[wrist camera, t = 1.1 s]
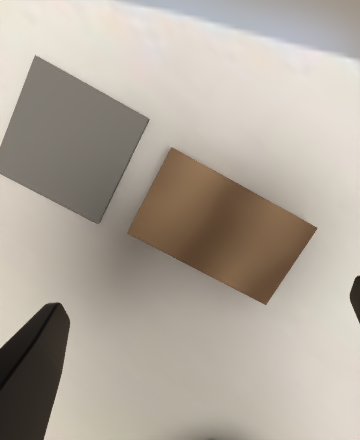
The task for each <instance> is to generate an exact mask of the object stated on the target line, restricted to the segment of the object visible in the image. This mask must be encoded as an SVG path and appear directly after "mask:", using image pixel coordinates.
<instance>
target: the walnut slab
mask: <svg viewBox="0 0 360 440" xmlns="http://www.w3.org/2000/svg"><path fill="white" fill-rule="evenodd" d="M316 230H317V228H316V227H315V226H313V225H311V224H309V223H307V222H306V221H304V220H302V219H300V218H298V217H297V216H295V215H293V214H291V213H289V212H288V211H286V210H284V209H282V208H280V207H279V206H277V205H275V204H273V203H271V202H269V201H268V200H266V199H264V198H262V197H260V196H259V195H257V194H255V193H253V192H251V191H250V190H248V189H246V188H244V187H242V186H241V185H239V184H237V183H235V182H233V181H232V180H230V179H228V178H226V177H224V176H223V175H221V174H219V173H217V172H215V171H213V170H212V169H210V168H208V167H206V166H204V165H203V164H201V163H199V162H197V161H195V160H194V159H192V158H190V157H188V156H186V155H185V154H183V153H181V152H179V151H177V150H176V149H174V148H172V147H171V149H170V151H169V153H168V155H167V157H166V159H165V161H164V163H163V165H162V167H161V169H160V171H159V172H158V174H157V176H156V178H155V180H154V182H153V184H152V186H151V188H150V190H149V192H148V194H147V196H146V198H145V200H144V202H143V204H142V206H141V207H140V209H139V211H138V213H137V215H136V217H135V219H134V221H133V223H132V225H131V227H130V229H129V231H128V234H130V235H131V236H133V237H135V238H137V239H139V240H141V241H143V242H145V243H147V244H149V245H151V246H153V247H155V248H157V249H159V250H161V251H162V252H164V253H166V254H168V255H170V256H172V257H174V258H176V259H178V260H180V261H182V262H184V263H186V264H188V265H190V266H191V267H193V268H195V269H197V270H199V271H201V272H203V273H205V274H207V275H209V276H211V277H213V278H215V279H217V280H219V281H220V282H222V283H224V284H226V285H228V286H230V287H232V288H234V289H236V290H238V291H240V292H242V293H244V294H246V295H248V296H249V297H251V298H253V299H255V300H257V301H259V302H261V303H263V304H265V305H266V304H267V303H268V301H269V300H270V298H271V297H272V295H273V294H274V292H275V291H276V289H277V288H278V286H279V285H280V283H281V282H282V280H283V279H284V277H285V276H286V274H287V273H288V271H289V270H290V268H291V267H292V265H293V264H294V262H295V261H296V259H297V258H298V257H299V255H300V254H301V252H302V251H303V249H304V248H305V246H306V245H307V243H308V242H309V240H310V239H311V237H312V236H313V234H314V233H315V231H316Z"/></svg>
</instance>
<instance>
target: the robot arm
mask: <svg viewBox="0 0 360 440" xmlns="http://www.w3.org/2000/svg"><path fill="white" fill-rule="evenodd" d="M350 301H351V304H352V306H353V309H354V311H355V313H356V316H357V318H358V321H359V323H360V276H357V277H356V278H355V280H354V283H353V286H352V289H351V292H350ZM69 328H70V319H69V317H68V315H67V313H66V311H65V309H64V307H63V306H62V304H61V303H58V302H57V303H48V304H46V305H44V306H43V307H42V308H41V309H40V310H39V311H38V312H37V313H36V314H35V315H34V316H33V317H32V318H31V319H30V320H29V321H28V322H27V323H26V324H25V325H24V326H23V327H22V328H21V329H20V330H19V331H18V332H17V333H16V334H15V335H14V336H13V337H12V338H11V339H10V340H9V341H8V342H6V343H5V344H4V345H3V346H2V347H1V348H0V440H44V436H45V432H46V429H47V425H48V422H49V418H50V414H51V411H52V407H53V404H54V400H55V396H56V393H57V389H58V386H59V382H60V378H61V374H62V369H63V363H64V357H65V352H66V346H67V340H68V334H69Z"/></svg>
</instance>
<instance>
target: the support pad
mask: <svg viewBox="0 0 360 440" xmlns="http://www.w3.org/2000/svg"><path fill="white" fill-rule="evenodd" d="M148 122H149V119H148V118H146V117H145V116H143V115H141V114H139V113H138V112H136V111H134V110H132V109H130V108H129V107H127V106H125V105H123V104H121V103H120V102H118V101H116V100H114V99H112V98H111V97H109V96H107V95H105V94H104V93H102V92H100V91H98V90H96V89H95V88H93V87H91V86H89V85H87V84H86V83H84V82H82V81H80V80H78V79H77V78H75V77H73V76H71V75H70V74H68V73H66V72H64V71H62V70H61V69H59V68H57V67H55V66H53V65H52V64H50V63H48V62H46V61H44V60H43V59H41V58H39V57H37V56H36V55H35V57H34V59H33V62H32V65H31V67H30V70H29V72H28V75H27V78H26V80H25V83H24V86H23V88H22V91H21V94H20V96H19V99H18V102H17V104H16V107H15V109H14V112H13V115H12V117H11V120H10V123H9V125H8V128H7V131H6V133H5V136H4V139H3V141H2V144H1V147H0V174H1V175H3V176H5V177H7V178H9V179H11V180H13V181H15V182H17V183H19V184H21V185H23V186H25V187H27V188H29V189H31V190H33V191H35V192H36V193H38V194H40V195H42V196H44V197H46V198H48V199H50V200H52V201H54V202H56V203H58V204H60V205H62V206H64V207H66V208H68V209H69V210H71V211H73V212H75V213H77V214H79V215H81V216H83V217H85V218H87V219H89V220H91V221H93V222H95V223H97V224H99V222H100V220H101V218H102V216H103V214H104V212H105V210H106V208H107V206H108V204H109V202H110V200H111V198H112V196H113V194H114V192H115V190H116V188H117V185H118V183H119V181H120V179H121V177H122V175H123V173H124V171H125V169H126V167H127V165H128V163H129V161H130V159H131V157H132V155H133V153H134V150H135V148H136V146H137V144H138V142H139V140H140V138H141V136H142V134H143V132H144V130H145V128H146V126H147V124H148Z"/></svg>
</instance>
